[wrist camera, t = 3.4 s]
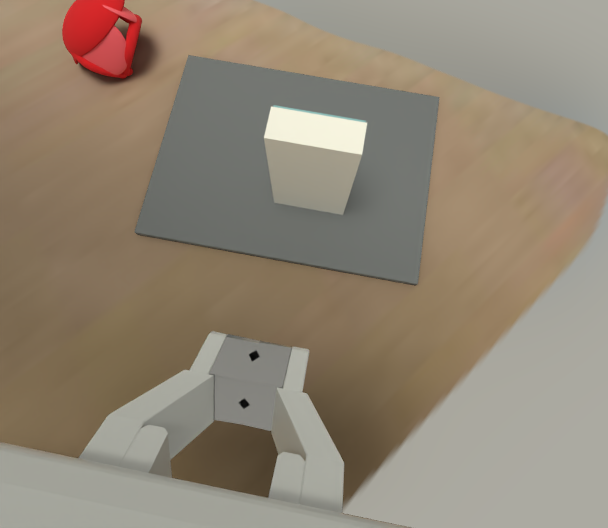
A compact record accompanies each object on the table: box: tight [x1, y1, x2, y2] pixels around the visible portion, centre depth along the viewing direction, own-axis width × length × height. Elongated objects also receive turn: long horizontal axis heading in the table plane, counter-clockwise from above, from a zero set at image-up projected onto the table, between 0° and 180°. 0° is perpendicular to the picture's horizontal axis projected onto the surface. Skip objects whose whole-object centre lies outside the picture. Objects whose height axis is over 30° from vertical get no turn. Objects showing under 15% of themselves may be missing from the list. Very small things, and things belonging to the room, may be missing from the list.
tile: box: [264, 105, 367, 215], centre depth 28 cm, size 6×2×10 cm, turn 79°
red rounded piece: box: [62, 0, 142, 79], centre depth 34 cm, size 8×6×6 cm
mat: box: [135, 55, 439, 285], centre depth 34 cm, size 24×18×1 cm
